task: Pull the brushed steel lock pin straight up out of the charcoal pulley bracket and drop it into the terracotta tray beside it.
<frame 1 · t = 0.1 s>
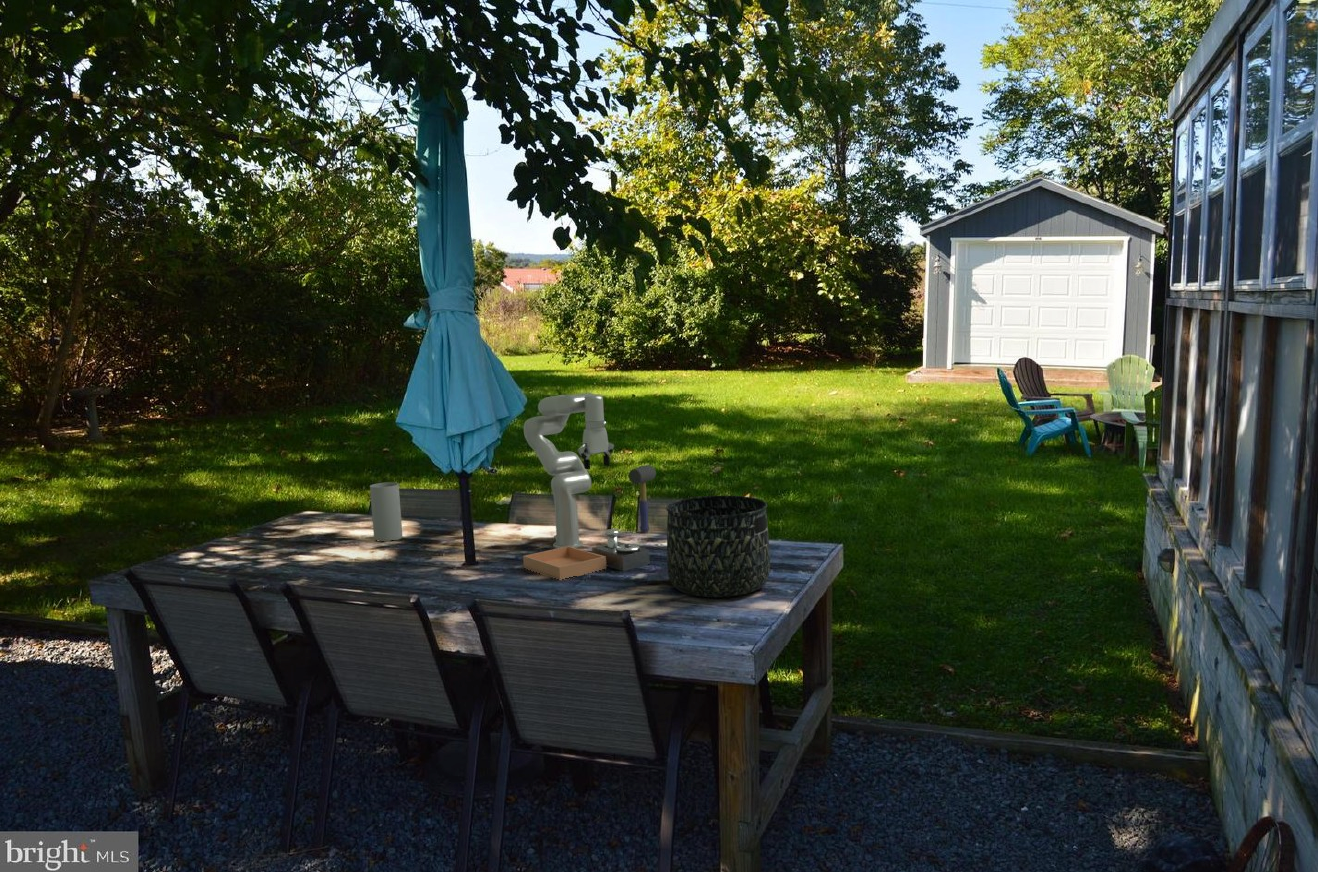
hand: (597, 467, 414), 37 cm above the table, tool pointing down, fingers open, 9 cm apart
rubber mallet: (644, 532, 457), on the table
basket: (719, 587, 367), on the table
lock pin: (613, 561, 409), resting in pulley bracket
pulley bracket: (621, 563, 405), on the table
tray: (564, 568, 400), on the table
cylinder vase: (388, 539, 464), on the table
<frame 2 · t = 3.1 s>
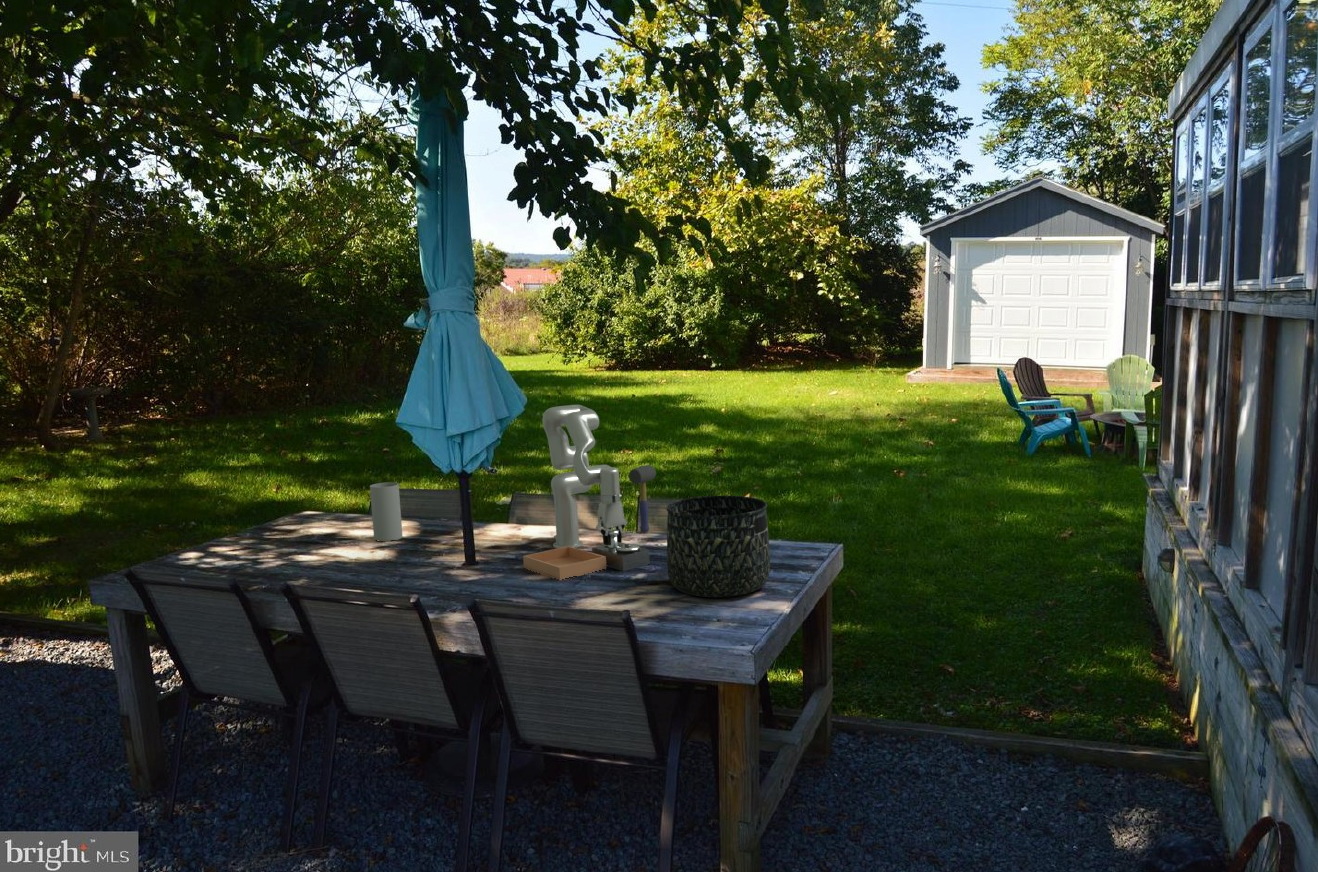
hand: (612, 542, 408), 7 cm above the table, tool pointing down, fingers closed on lock pin, 5 cm apart
lock pin: (613, 561, 409), resting in pulley bracket, touching gripper
everything else where it was.
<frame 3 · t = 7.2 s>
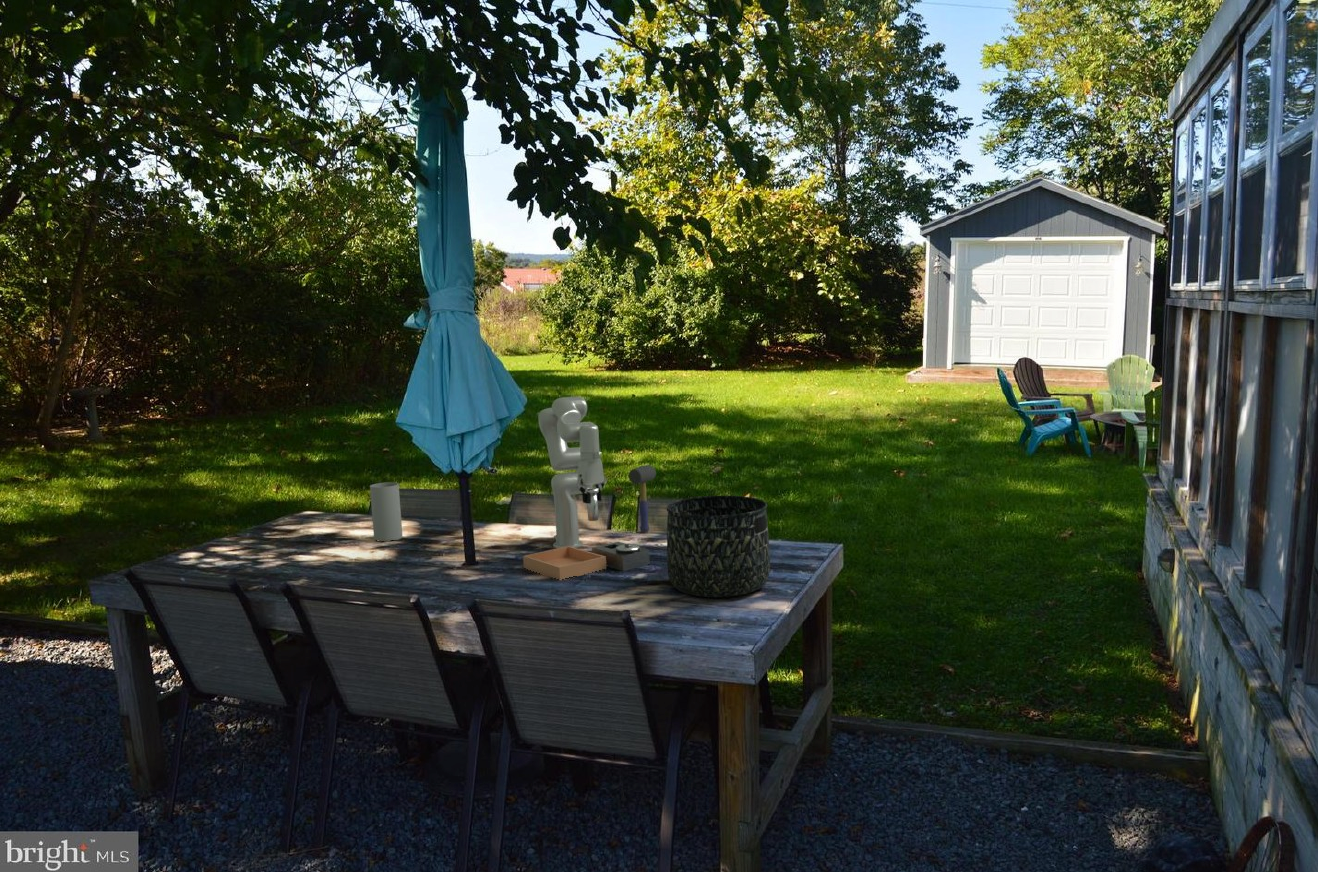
hand: (592, 501, 402), 25 cm above the table, tool pointing down, fingers closed on lock pin, 5 cm apart
lock pin: (593, 519, 403), point 18 cm above the table, touching gripper
everything else where it was.
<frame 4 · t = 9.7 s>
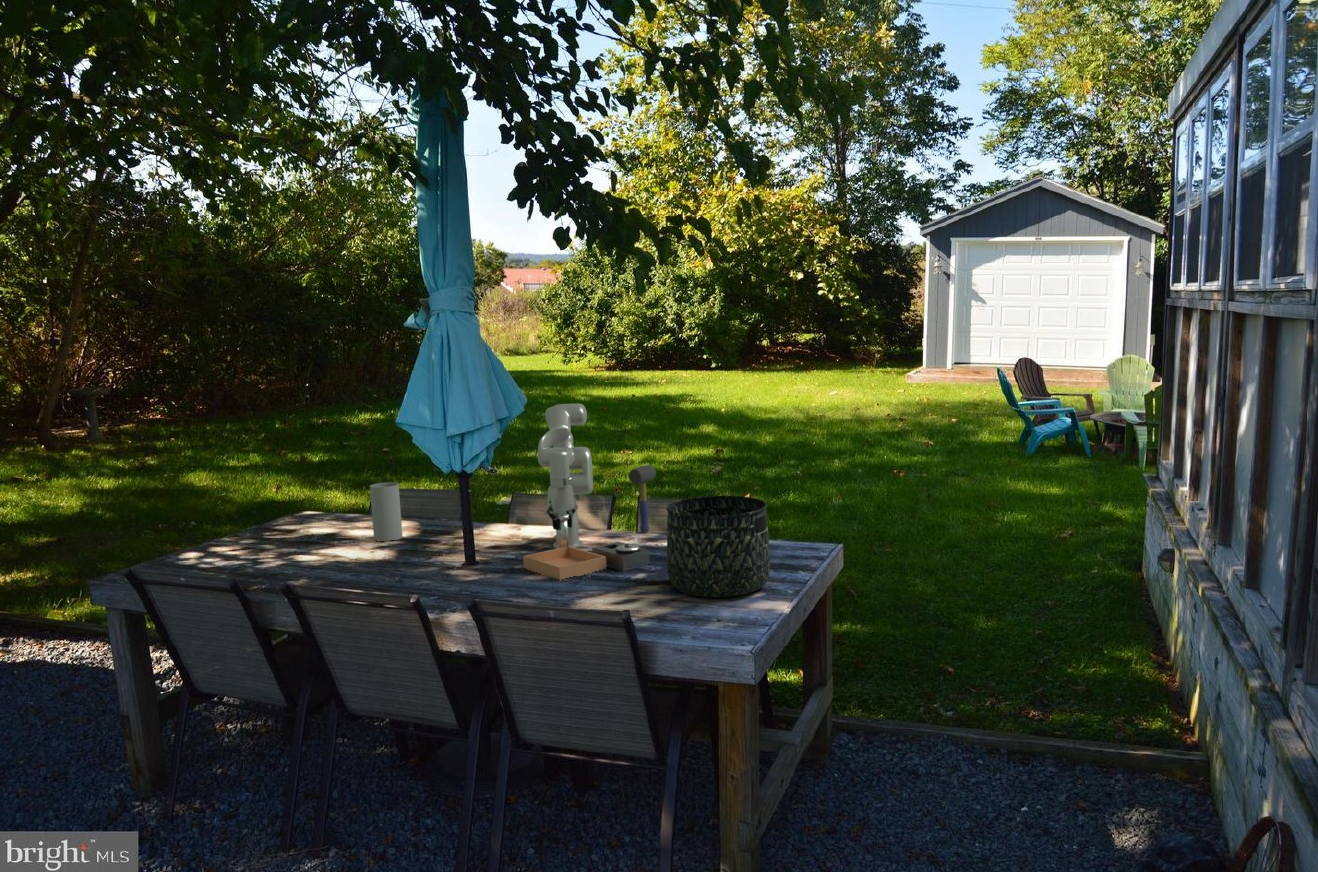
hand: (562, 527, 398), 16 cm above the table, tool pointing down, fingers closed on lock pin, 5 cm apart
lock pin: (563, 546, 399), point 9 cm above the table, touching gripper
everything else where it was.
when the fingers open (10 cm above the table, at t = 11.7 s): lock pin drops 2 cm, resting on tray.
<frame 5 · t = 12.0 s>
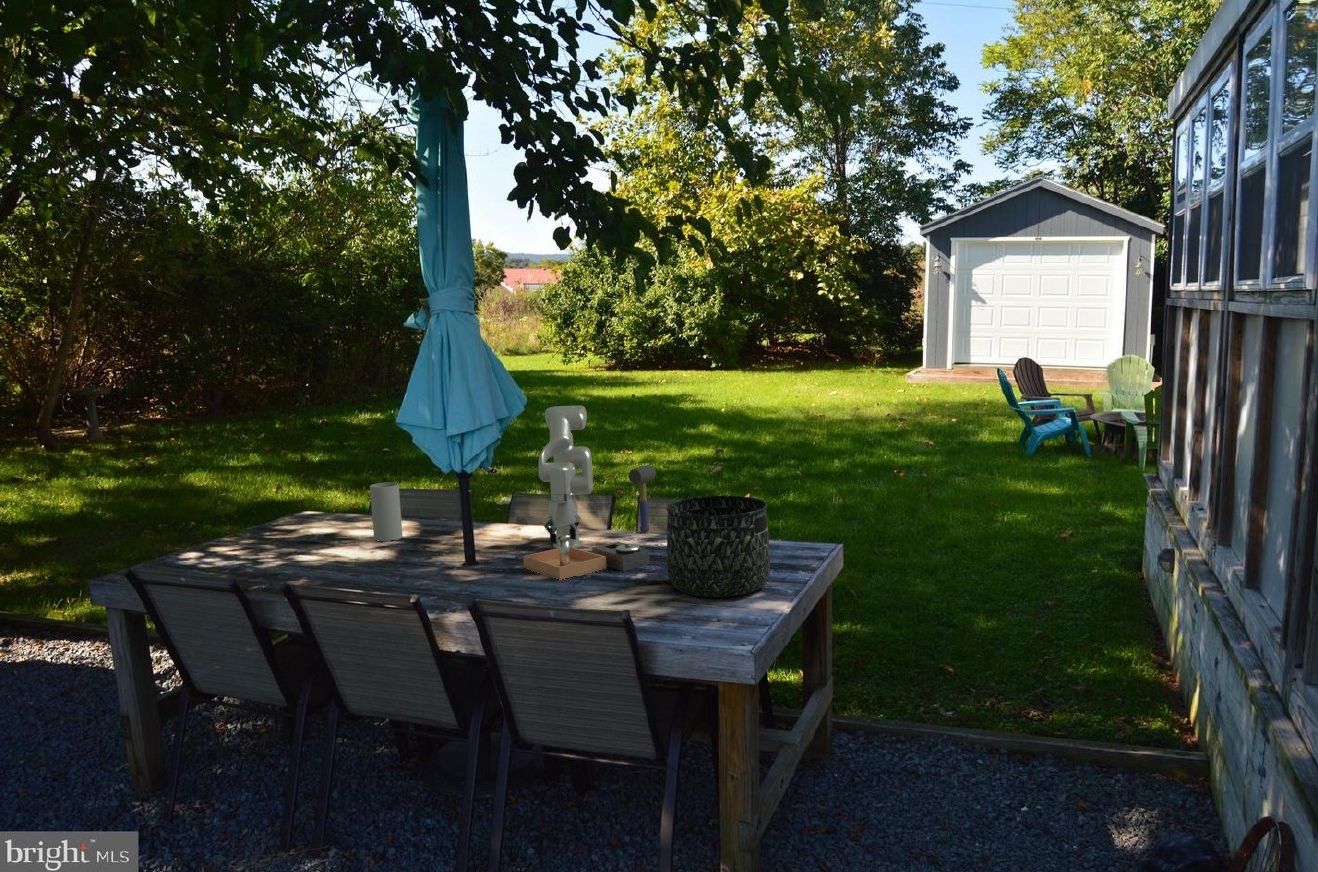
hand: (563, 541, 399), 11 cm above the table, tool pointing down, fingers open, 8 cm apart
lock pin: (565, 566, 400), point 1 cm above the table, touching tray
everything else where it was.
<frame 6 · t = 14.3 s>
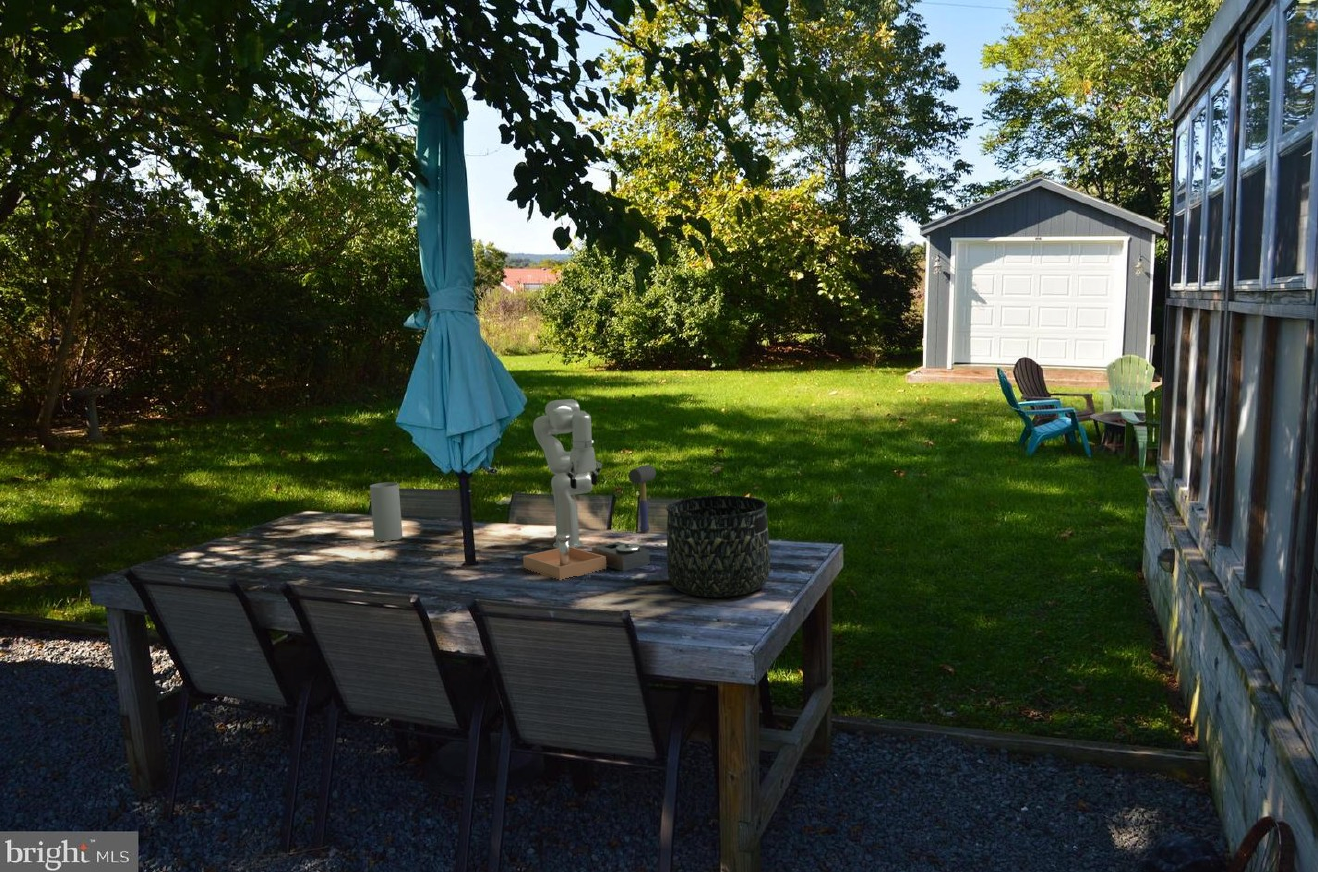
hand: (584, 486, 410), 30 cm above the table, tool pointing down, fingers open, 9 cm apart
nothing on the table moved.
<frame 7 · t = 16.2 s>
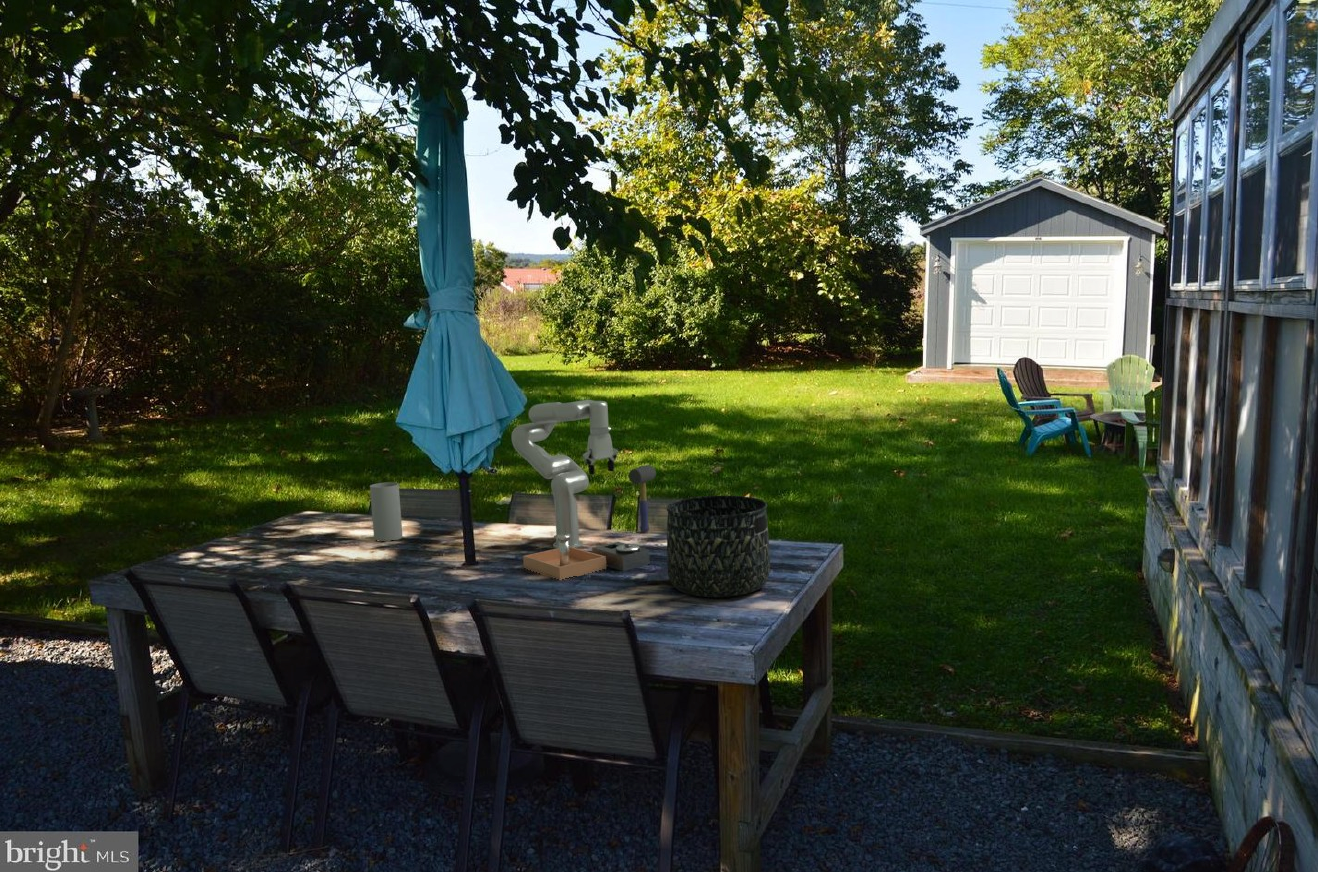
hand: (601, 472, 420), 33 cm above the table, tool pointing down, fingers open, 9 cm apart
nothing on the table moved.
at the end: lock pin inside the target area on the tray (0.2 cm from its centre), point 1.0 cm above the tray's base; the gripper is holding nothing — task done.
